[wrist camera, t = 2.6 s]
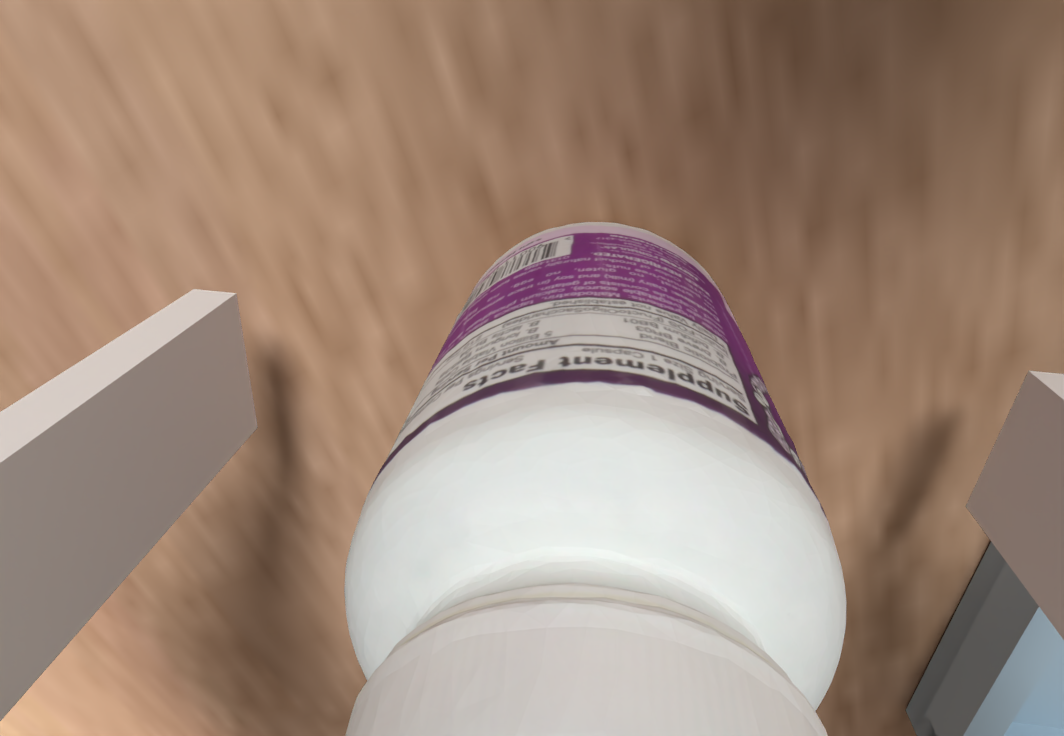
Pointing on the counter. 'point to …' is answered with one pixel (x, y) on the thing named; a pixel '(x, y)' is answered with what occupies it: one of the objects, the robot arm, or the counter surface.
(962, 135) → the counter surface
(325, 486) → the counter surface
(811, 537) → the pill bottle
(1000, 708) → the tray
